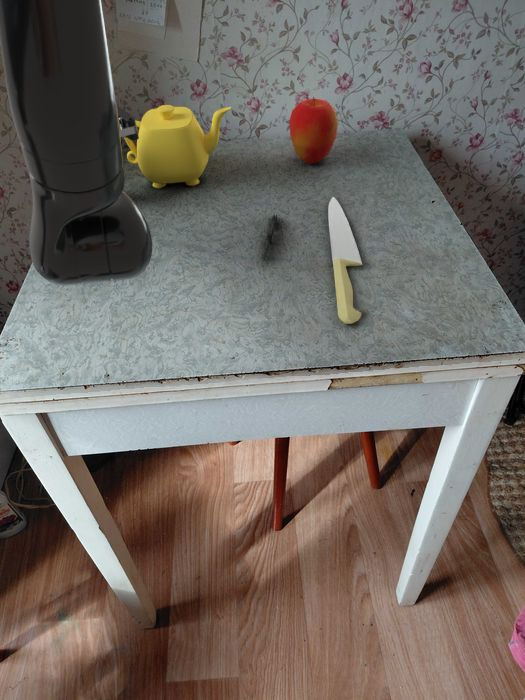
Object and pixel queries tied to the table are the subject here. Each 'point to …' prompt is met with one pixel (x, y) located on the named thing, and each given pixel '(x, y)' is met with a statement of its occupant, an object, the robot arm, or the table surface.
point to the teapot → (173, 145)
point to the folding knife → (270, 234)
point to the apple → (313, 129)
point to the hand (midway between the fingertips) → (79, 107)
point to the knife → (343, 261)
